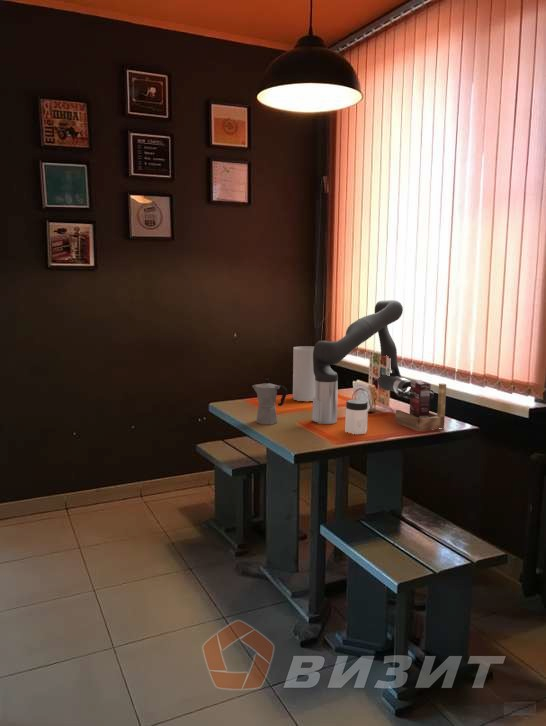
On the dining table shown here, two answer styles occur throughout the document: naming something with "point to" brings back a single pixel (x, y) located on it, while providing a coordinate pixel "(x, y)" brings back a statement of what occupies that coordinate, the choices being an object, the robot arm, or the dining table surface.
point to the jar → (356, 416)
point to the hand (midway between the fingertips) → (422, 396)
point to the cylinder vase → (303, 374)
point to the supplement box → (420, 398)
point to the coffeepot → (268, 401)
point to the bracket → (429, 422)
